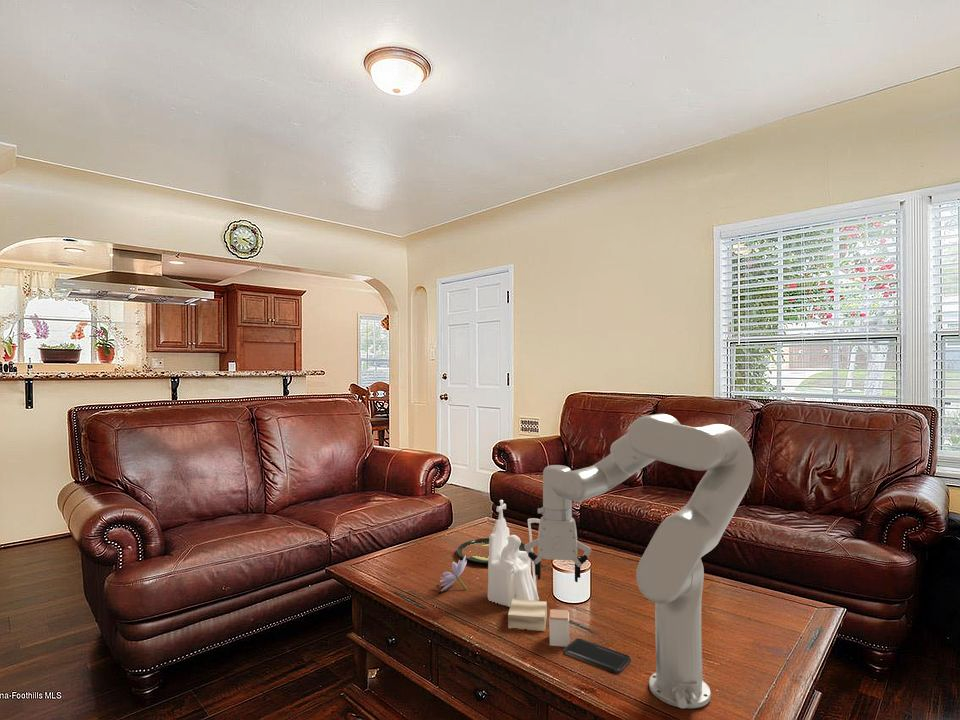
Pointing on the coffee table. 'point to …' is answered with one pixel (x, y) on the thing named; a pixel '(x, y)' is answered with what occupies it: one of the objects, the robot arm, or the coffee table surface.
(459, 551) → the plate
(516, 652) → the coffee table surface
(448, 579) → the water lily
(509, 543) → the religious statue
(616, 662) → the phone
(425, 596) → the coffee table surface
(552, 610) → the peach rectangular block
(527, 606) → the block
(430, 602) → the coffee table surface
